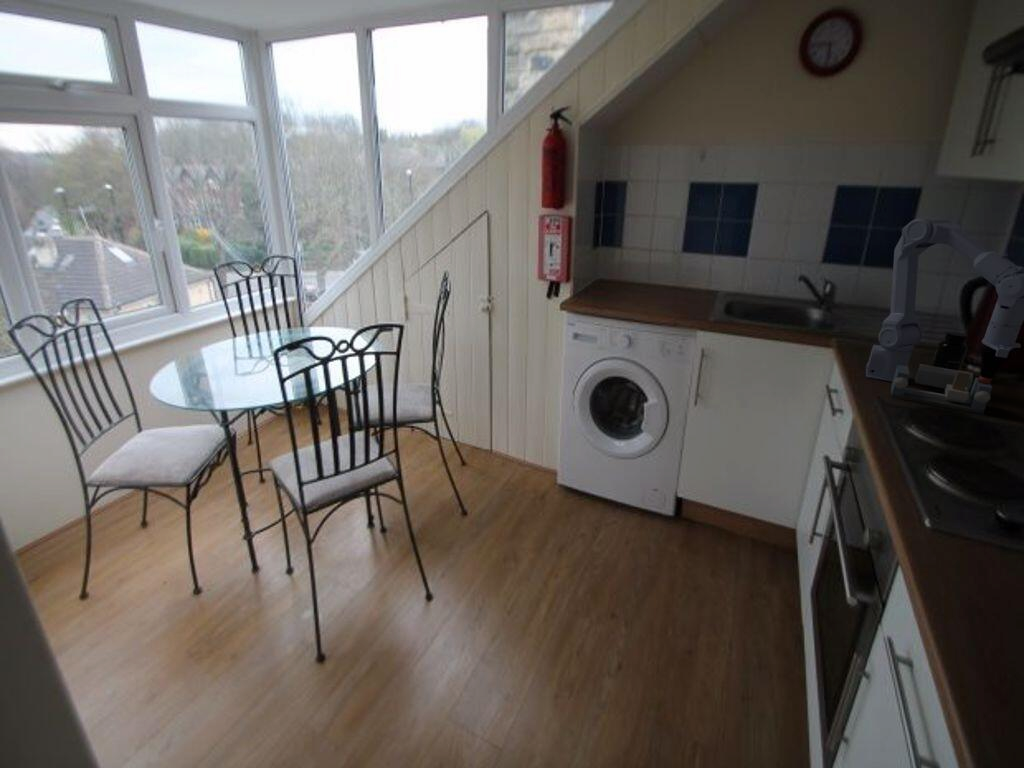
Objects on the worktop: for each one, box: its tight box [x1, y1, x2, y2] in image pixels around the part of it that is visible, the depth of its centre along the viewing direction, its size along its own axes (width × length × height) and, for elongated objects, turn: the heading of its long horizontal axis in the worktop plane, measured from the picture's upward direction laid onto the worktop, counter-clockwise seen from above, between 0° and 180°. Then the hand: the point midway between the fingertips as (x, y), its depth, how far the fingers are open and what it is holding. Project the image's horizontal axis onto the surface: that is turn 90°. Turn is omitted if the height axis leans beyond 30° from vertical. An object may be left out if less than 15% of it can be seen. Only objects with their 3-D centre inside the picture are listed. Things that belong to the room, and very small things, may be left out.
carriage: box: [944, 369, 971, 403], centre depth 136 cm, size 4×5×7 cm
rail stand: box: [890, 365, 993, 415], centre depth 139 cm, size 20×8×7 cm, turn 58°
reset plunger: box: [978, 375, 993, 384], centre depth 133 cm, size 2×2×1 cm
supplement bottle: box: [930, 331, 968, 371], centre depth 157 cm, size 7×7×12 cm
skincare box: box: [914, 363, 974, 393], centre depth 149 cm, size 6×4×12 cm
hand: (985, 377), depth 133 cm, fingers closed, pressing on reset plunger
